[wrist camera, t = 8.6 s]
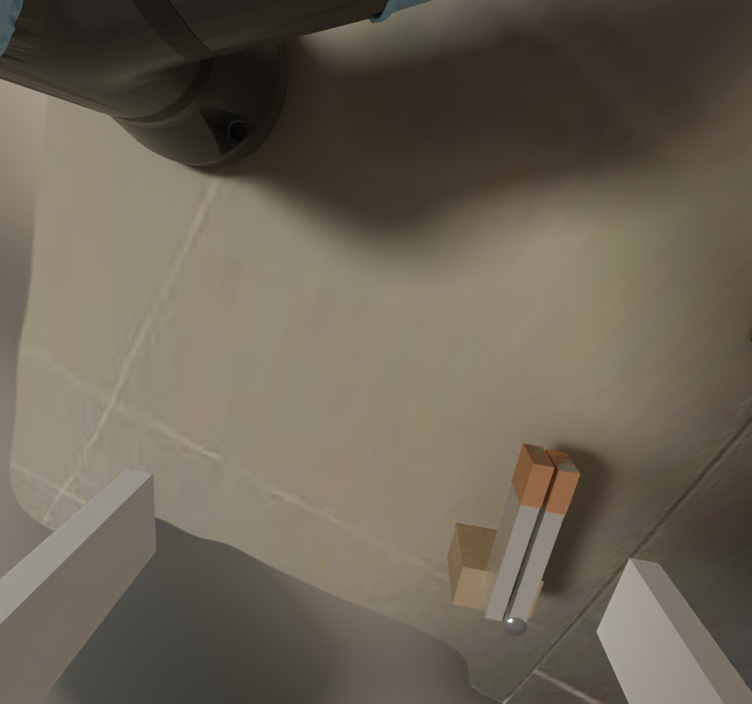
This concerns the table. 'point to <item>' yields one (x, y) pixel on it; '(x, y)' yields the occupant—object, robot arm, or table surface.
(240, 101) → the robot arm
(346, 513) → the table surface
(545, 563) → the tong arm
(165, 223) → the table surface
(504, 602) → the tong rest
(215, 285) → the table surface
